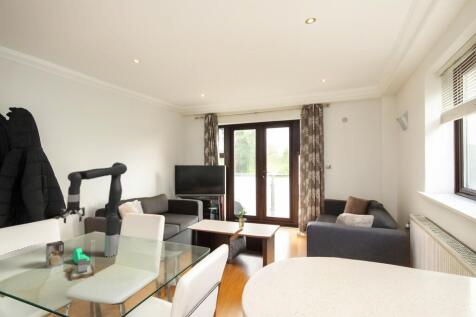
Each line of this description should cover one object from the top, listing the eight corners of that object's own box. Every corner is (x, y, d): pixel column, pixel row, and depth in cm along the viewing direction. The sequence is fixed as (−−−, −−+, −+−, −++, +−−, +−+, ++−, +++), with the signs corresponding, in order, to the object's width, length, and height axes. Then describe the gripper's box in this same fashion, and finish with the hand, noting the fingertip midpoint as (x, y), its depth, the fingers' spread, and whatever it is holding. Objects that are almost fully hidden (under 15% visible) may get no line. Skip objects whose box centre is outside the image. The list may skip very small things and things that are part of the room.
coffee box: (60, 261, 179) (61, 240, 179) (63, 264, 175) (64, 242, 175) (45, 265, 172) (46, 243, 171) (48, 268, 168) (49, 246, 167)
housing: (86, 266, 170) (86, 258, 170) (87, 272, 164) (87, 262, 163) (77, 268, 167) (78, 259, 167) (78, 274, 161) (78, 264, 160)
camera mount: (90, 262, 182) (90, 248, 181) (78, 265, 175) (79, 251, 175) (82, 256, 188) (83, 244, 188) (71, 260, 182) (72, 247, 182)
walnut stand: (91, 267, 174) (92, 264, 174) (93, 275, 164) (94, 272, 164) (70, 271, 167) (70, 268, 166) (70, 280, 156) (70, 277, 156)
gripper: (84, 198, 179) (83, 219, 180) (61, 199, 170) (60, 222, 171) (85, 200, 173) (84, 222, 174) (61, 202, 164) (60, 225, 165)
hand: (72, 222), depth 172 cm, fingers open, 8 cm apart
